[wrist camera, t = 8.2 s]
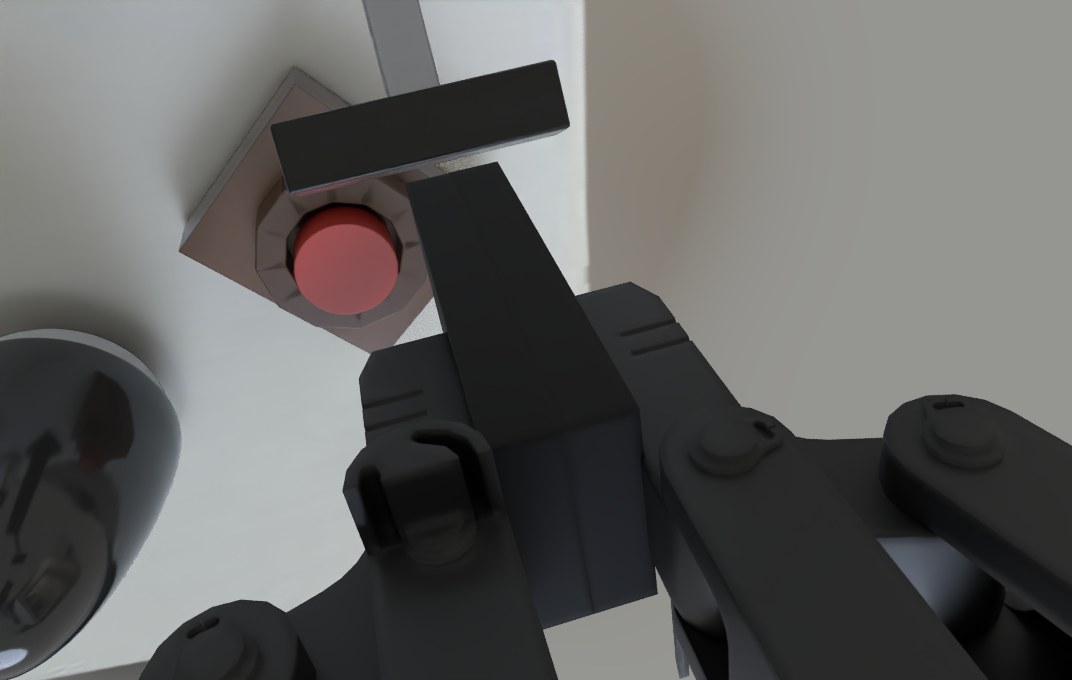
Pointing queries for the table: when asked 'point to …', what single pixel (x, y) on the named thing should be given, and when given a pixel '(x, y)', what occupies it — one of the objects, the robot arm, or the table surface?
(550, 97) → the pivoting lever
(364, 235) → the red push button
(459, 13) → the table surface
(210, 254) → the switch box
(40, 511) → the pump dispenser
